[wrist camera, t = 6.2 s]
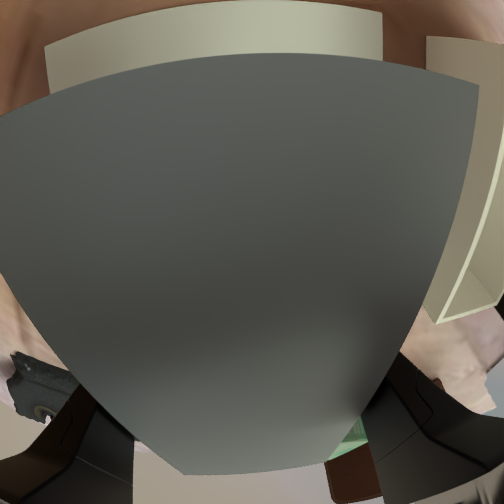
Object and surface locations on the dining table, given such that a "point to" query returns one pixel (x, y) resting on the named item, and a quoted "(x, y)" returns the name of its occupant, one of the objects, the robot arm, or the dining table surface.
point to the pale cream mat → (213, 37)
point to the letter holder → (355, 474)
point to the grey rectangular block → (234, 242)
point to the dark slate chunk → (39, 388)
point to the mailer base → (473, 187)
